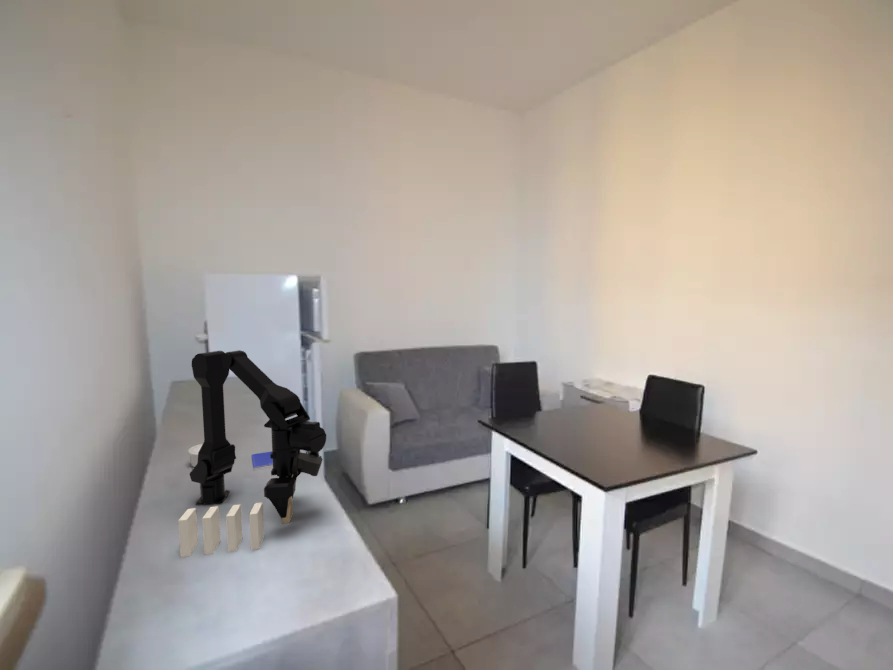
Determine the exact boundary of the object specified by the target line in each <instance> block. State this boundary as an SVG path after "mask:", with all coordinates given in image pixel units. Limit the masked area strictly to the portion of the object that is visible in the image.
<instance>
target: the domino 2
mask: <svg viewBox="0 0 893 670" xmlns="http://www.w3.org/2000/svg"><path fill="white" fill-rule="evenodd" d="M219 509H220V508H219V505H216V506H210V507H209V509H208V510H207V511H206V513H205V514H204V515H203V517H202V532H203V533H202V534H203V537H202V538H203V549H204V551H203V552H204V555H213V554H214V552H215V551H216V550H217V547H218V546H219V544H220V542H221V541H222V540H221V526H220V525H221V524H220V510H219Z"/></svg>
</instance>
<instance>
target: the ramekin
mask: <svg viewBox="0 0 893 670" xmlns="http://www.w3.org/2000/svg"><path fill="white" fill-rule="evenodd" d="M202 445H203V443H200V444H196V445H193V446H192V447H190V448H188V450H187V454H188V456H189V461H190V464H191V466H192V467H193V468H194V467H195V466H196V465H197V463H198V452H199V450H200V449H201V447H202Z"/></svg>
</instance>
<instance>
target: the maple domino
mask: <svg viewBox="0 0 893 670" xmlns="http://www.w3.org/2000/svg"><path fill="white" fill-rule="evenodd" d="M293 509H294V508H293V499H292V496H291V497H290V498H289V502H288V509H287V515H286V518H281V522H282V523H283V524H286V523H285V522H290V523H291V520H290V519H292V517H293V514H294V510H293ZM292 513H293V514H292ZM291 516H292V517H291Z"/></svg>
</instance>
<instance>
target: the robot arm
mask: <svg viewBox="0 0 893 670" xmlns="http://www.w3.org/2000/svg"><path fill="white" fill-rule="evenodd" d="M191 369H192V374H193V379H194V380H195V381H196V382H197V383H198V384H199V385H200V387H201V388H200V389H201V405H202V421H203V439H204V442H203V443H202V444H203V445H202V447H201V449H200V450H199V452H198V463H197V465H196V466H195V467H193V469H192V470H191V471H190V473H189V478H190V480H191V482H193V483H197V484H199V488H200V490H199V492H200V497H199V498H198V500H197V501H196V502H195V505H197V506H200V505H210V504H211V505H213V504H221V503H224V501H225V499H226V498H227V497H228V495H229V494H230V490H225V489H226V487H225V475H226V474H228V473H231V472H232V470H233V466H234V465H235V461H236V459H237V456H236V446H235V444H232V443H231V442H230V441H229V440H228V439H227V434H226V418H225V417H226V416H225V399H224V398H225V396H224V395H225V394H224V385H225V382H226V380H227V379H228V376H229V375H230V371H231V372H232V373H233V374H234V375H235V376H236V377H237V378H238V379H239V380H240V381H241V382H242V383H243V384H244V385H245V386H246V387H247V388H248V389H249V390H250V391H251V392H252V393H253V394H254V395H255V396H256V397H257V398H258V400H259V404H260V408H261V409H262V411H263V412H264V414H265V415H266V416H267V418H268V421H266V422H265V424H263V427H264V428H268V429H271V430H270V431H271V432H270V433H271V451H272V453H271V454H270V458H271V459H273V467H272V469H271V470H270V474H271V476H277V477H272V478H270V479H269V481H267V482H266V484H265V486H264V489H263V495H264V498H266V499H268V500H269V502H270V503H271V504H272V506H273V507H274V509H275V510H276V511H277V513H278V516H279V517H280V518H281V519H282V518H286V515H287V509H288V502H289V498H290V497H291V496H292V500H293V498H294V494H295V491H296V489H297V488H296V483H297V477H299V475H301V474H306V475H310V476H312V477H317V476H318V474H319V471H320V469H321V466H322V462H323V458H322V455H320V453H319V452H321V451H322V449H324V447H325V444H326V442H327V433H326V431H325V429H324V428H323V427H321V422H319V421H310V419H311V418H310V416H309V414H308V412H307V410H306V409H305V407H304V405H303V404H302V403H301V399H300V397H299V396H298V394H296V393H295V392H293V391H291V390H290V389H288V388H287V387H284V386H281V385H278V384H277V383H275V382H274V381H273V380H272V379H271V378H270V377H269V376H268V375H267V374H266V373H265V372H264V371H263V370H261V368H259V367H258V366H257V365H256V364H255V363H254V362H253V361H252V360H251V359H250V358H249V357H248V354H247V353H246V351H244V350H240V349H239V350H238V349H237V350H233V351H227V352H225V351H223V350H213V351H207V352H201V353H197V354H196V355H194V356H193V357H192V359H191ZM301 451H306V452H301Z"/></svg>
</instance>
